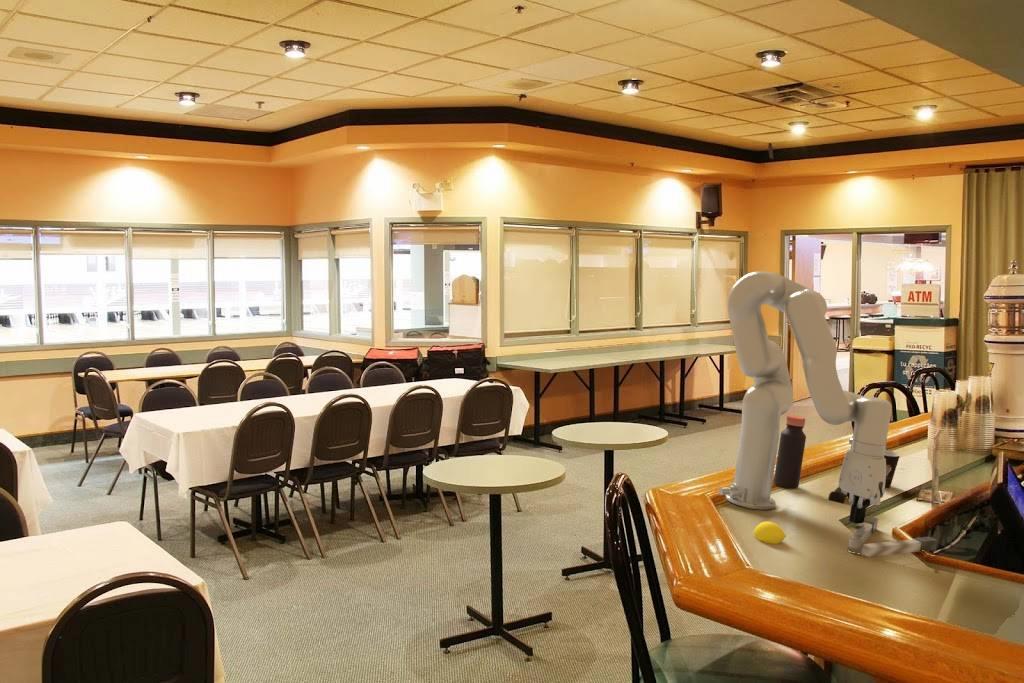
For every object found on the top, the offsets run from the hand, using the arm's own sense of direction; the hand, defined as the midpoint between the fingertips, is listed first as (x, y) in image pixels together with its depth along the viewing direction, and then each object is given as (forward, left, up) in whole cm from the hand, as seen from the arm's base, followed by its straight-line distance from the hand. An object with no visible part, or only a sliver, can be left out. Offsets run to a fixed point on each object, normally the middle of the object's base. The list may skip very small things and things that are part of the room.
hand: (856, 522), depth 198 cm
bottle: (+10, +33, -2) cm, 35 cm away
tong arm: (-5, -7, -1) cm, 8 cm away
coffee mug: (+43, +31, -2) cm, 53 cm away
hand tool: (+19, +22, -3) cm, 29 cm away
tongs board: (-4, -11, -2) cm, 12 cm away
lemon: (-31, -4, -2) cm, 31 cm away
